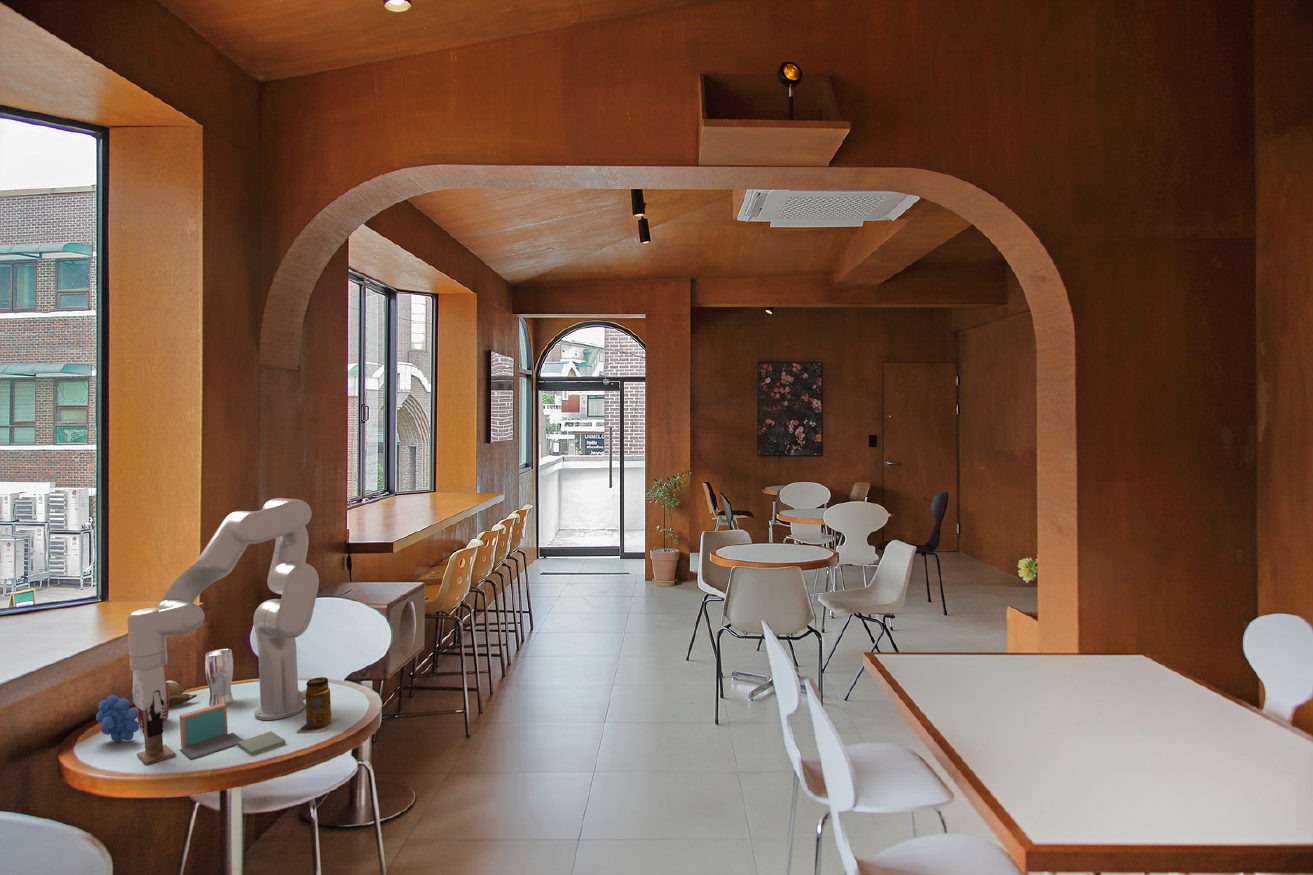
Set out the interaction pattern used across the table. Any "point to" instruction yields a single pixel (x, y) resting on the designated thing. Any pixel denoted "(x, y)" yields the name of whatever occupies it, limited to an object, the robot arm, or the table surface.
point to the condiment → (317, 706)
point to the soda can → (164, 710)
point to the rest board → (261, 743)
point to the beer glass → (219, 676)
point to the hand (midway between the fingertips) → (153, 732)
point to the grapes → (117, 718)
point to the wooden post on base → (153, 746)
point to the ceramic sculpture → (176, 694)
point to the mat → (211, 746)
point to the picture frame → (203, 725)
